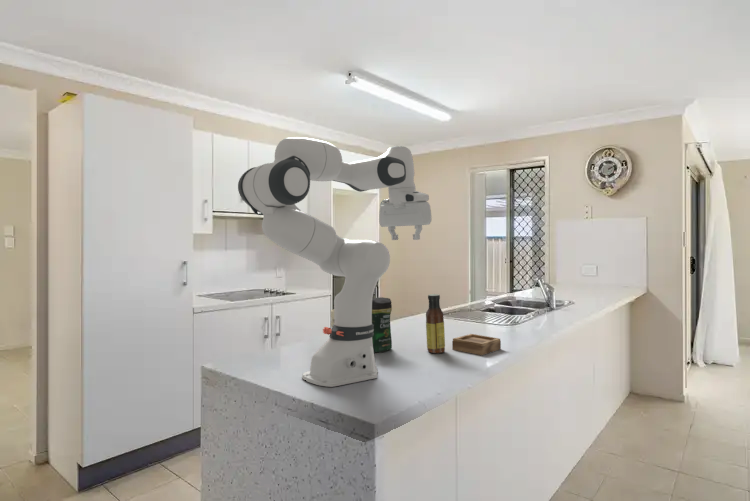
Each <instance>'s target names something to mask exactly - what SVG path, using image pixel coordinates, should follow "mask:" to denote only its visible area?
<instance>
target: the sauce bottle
mask: <svg viewBox="0 0 750 501" xmlns="http://www.w3.org/2000/svg"><path fill="white" fill-rule="evenodd" d="M427 299H428V309H427V311H426V312H425V328H426V330H425V331H426V332H425V333H426V350H427V352H428V353H430V354H443V353H445V351H446V340H445V339H446V338H445V337H446V336H445V334H446V333H445V321H444V312H443V310H442V308H441V304H440V299H441V296H440V294H439V293H438V294H437V293H436V294H435V293H434V294H433V293H432V294H428V295H427Z"/></svg>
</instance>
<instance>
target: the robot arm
mask: <svg viewBox="0 0 750 501" xmlns="http://www.w3.org/2000/svg"><path fill="white" fill-rule="evenodd" d="M414 178H415V163H414V157H413V154H412V151H411V149H410V148H408V147H406V146H403V145H400V146H398V145H396V146H395V145H394V146H390V147H388V148H387V151H385V152H384V153H383V154H381V155H379V156H377V157H372V158H367V159H362V160H355V161H352V162H349V163H348V162H344V161H343V156H342V153H341V150H340V149H339V148H338V146H336V145H334V144H332V143H330V142H327V141H324V140H320V139H316V138H309V137H302V136H301V137H300V136H296V137H295V136H294V137H291V136H290V137H285V138H283V139H281V140H280V141H279V143H277V145H276V148H275V152H274V161H273V162H268V163H264V164H261V165H257V166H254V167H251V168H249V169H248V170H246V171H245V172H244V173H243V174H242V175H241V176H240V178H239V179H238V183H237V189H238V190H237V191H238V194H239V196H240V198H241V199H242V200H243V202H244V203H246V204H247V206H249V207H250V209H251V210H252V212H253V213H254V214H255V215H256V216H257V215H258V216H259V215H260V216H263V218H262V222H261V231H262V233H263V234H264V236H265V238H267V239H268V240H270V241H271V242H273V243H274V244H276V245H277V246H279V247H281V248H282V249H284V250H285V251H288V252H290V253H292V254H295V255H297V256H299V257H301V258H303V259H306V260H308V261H311V262H313V263H314V264H316V265H317V266H319V268H320V269H321V270H322V271H323V272H325V273H327V274H330V275H333V276H335V277H344V278H345V279H344V284H343V285H342V288H341V290H340V292H338V293H337V294H336V295H335V297H334V300H333V305H334V306H333V309H334V324H333V327H327V326H324V327H323V328H322V333H323V335H328V336H329V338H328V339H327V341H325V342H324V344H322V346H320V348H318V350H317V351H315V353H313V355H312V356H311V360H310V368H309V369H310V370H308V371H305V372H302V374H301V377H302V379H303V380H304V381H305V380H306V382H308V383H310V384H313V385H317V386H320V387H327V388H328V387H329V388H332V387H333V388H334V387H338V386H344V385H348V384H354V383H358V382H364V381H367V380H368V381H369V380H372V379H377V378H378V373H379V371H378V368H377V363H376V359H375V352H374V349H373V342H372V336H373V331H374V330H373V324H372V298H374V293H375V289H376V286H377V285H378V284H377V283H378V282H379V280H380V278H381V277H382V276H383V275H384V274H385V273H386V272H387V271H388V269H389V267H390V263H391V254H390V251H389V249H388V247H387V246H386V245H385V244H383V243H382V242H378V241H376V240H372V239H349V238H343V237H341V236H339V235H338V234H337V231H336V230H335V228H334V227H333V226H332V225H330V224H328V223H326V222H325V221H322V220H320V219H318V218H316V217H314V216H312V215H311V214H308V213H306V212H304V211H302V210H301V209H300V208H299V207H298V206H297V205H296V204H298V203H300V202H301V201H303V200H304V199H306V197H307V195H308V194H309V192H310V186H311V182H330V181H331V182H332V181H333V182H337V183H343V184H345V185H347V186H348V187H350V188H351V189H353V190H354V191H357V192H366V191H370V190H378V189H386V188H387V190H388V199H386V198H385V199H382V201H381V202H380V203H379V212H378V215H379V216H378V217H379V218H378V220H379V221H378V222H379V226H380V227H382V228H387V230H388V233H390V235H391V236H390V237H391V241H398V240H399V234H397V232H396V231H395V230H396V227H411V226H414V230H415V231H414V234H412V239H413V240H414V241H418V240H421V232H422V230H423V226H427V225H430V224H431V222H432V218H433V217H432V210H431V205H430V203H429V202H428V201H429V200H430V196H429V194H427V193H424V192H421V191H419V190H416V185H415V182H414V181H415V179H414Z"/></svg>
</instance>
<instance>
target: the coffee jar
mask: <svg viewBox="0 0 750 501" xmlns="http://www.w3.org/2000/svg"><path fill="white" fill-rule="evenodd" d="M392 306H393V305H392V300H391V298H389V297H382V296H381V297H373V298H372V324H373V330H374V331H373V336H372V342H373V349H374V353H382V352H387V351H391V350H392V348H393V342H392V332H391V331H392V329H391V313H392V312H393V311H392V310H393V307H392Z"/></svg>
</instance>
